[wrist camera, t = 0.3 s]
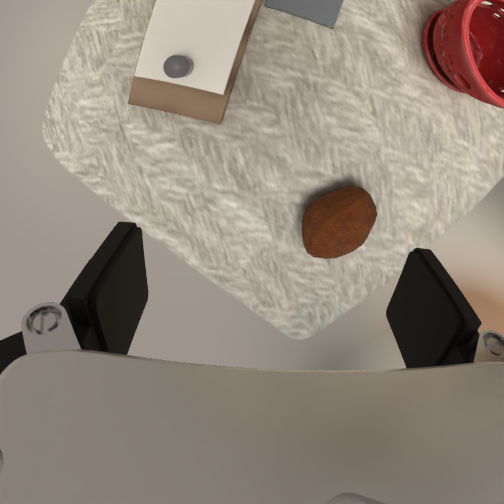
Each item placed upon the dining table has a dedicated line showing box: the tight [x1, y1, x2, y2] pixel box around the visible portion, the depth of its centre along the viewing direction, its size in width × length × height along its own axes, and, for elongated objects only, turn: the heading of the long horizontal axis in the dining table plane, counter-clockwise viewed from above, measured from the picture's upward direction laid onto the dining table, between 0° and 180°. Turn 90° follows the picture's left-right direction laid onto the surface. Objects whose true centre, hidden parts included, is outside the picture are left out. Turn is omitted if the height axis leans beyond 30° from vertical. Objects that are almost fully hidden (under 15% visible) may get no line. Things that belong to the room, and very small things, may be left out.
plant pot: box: [423, 0, 504, 108], centre depth 23 cm, size 13×13×12 cm
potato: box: [302, 186, 377, 259], centre depth 39 cm, size 8×11×8 cm
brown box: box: [128, 0, 262, 125], centre depth 27 cm, size 27×11×2 cm, turn 163°
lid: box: [134, 0, 256, 95], centre depth 26 cm, size 12×10×4 cm
